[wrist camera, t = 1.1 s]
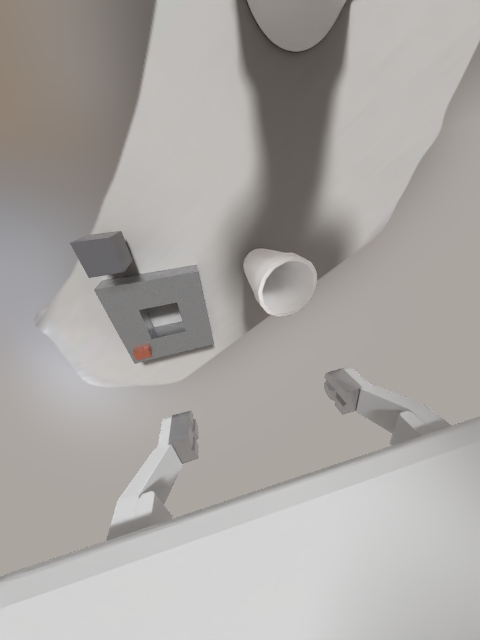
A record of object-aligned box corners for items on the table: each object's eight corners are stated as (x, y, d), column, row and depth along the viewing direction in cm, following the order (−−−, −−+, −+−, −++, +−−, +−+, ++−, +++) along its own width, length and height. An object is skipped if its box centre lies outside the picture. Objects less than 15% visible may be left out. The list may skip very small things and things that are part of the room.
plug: (92, 233, 29) (69, 242, 23) (123, 229, 30) (109, 237, 24) (106, 262, 32) (89, 277, 25) (134, 258, 32) (124, 272, 26)
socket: (102, 280, 33) (91, 292, 29) (196, 264, 36) (198, 273, 32) (138, 350, 42) (133, 367, 38) (211, 333, 44) (214, 347, 40)
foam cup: (235, 288, 40) (256, 320, 30) (235, 240, 35) (260, 258, 25) (277, 284, 42) (310, 312, 32) (282, 239, 38) (324, 254, 27)
